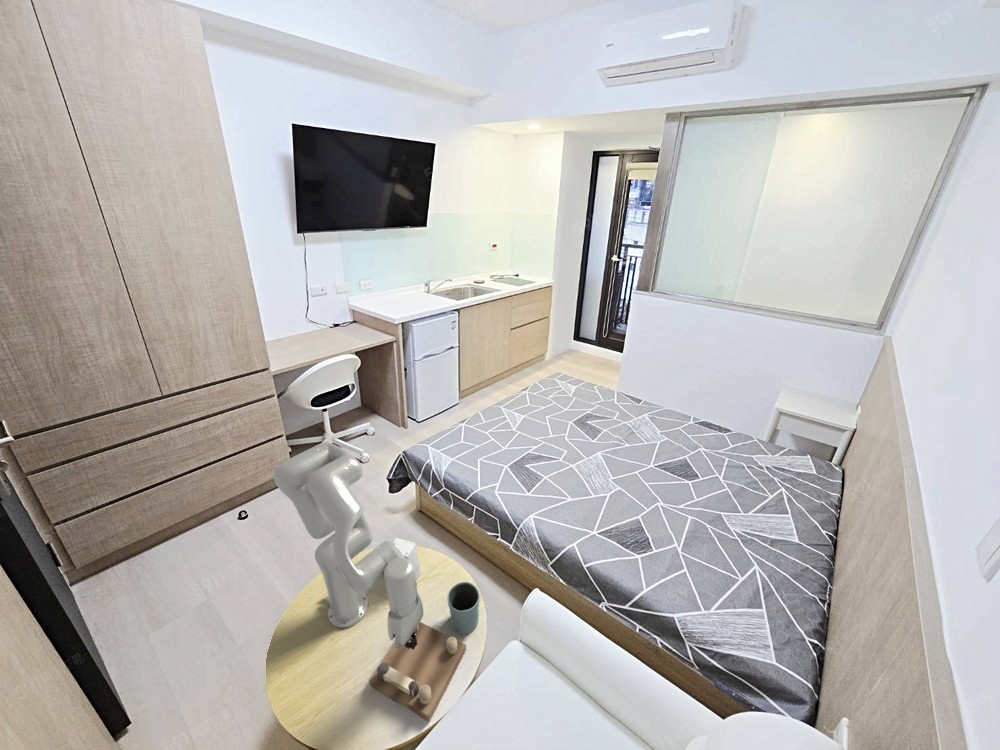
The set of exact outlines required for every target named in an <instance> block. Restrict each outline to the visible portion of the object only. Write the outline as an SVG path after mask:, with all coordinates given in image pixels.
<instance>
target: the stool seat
mask: <svg viewBox="0 0 1000 750" xmlns="http://www.w3.org/2000/svg"><path fill="white" fill-rule="evenodd" d="M416 639H417V645H416V646H415V649H414V650H413V649H411V648H410V649H408V648H406V647H405V644H404V645H402V646H401V647H400V649H397V648H395V641H394V642H393V644H392V645H391V647H390V648H389V650H388V651H387V653H386V655H385V656H384V657H383V659H382V660H381V662H379V664H378V666H379V665H380V664H381V663H387V664H388V665H389V666H390V667H391V668H393V669H395V670H397V671H398V672H400V673H402V674H404V675H406V676H407V677H409V678H411V679H413V680H414V681H417V682H418V684H419V692H418V694H417V695H416V696H414V697H412V696H410V695H409V694H407V693H405V692H404V691H402V690H400V689H398V688H397V687H395V686H393V685H391V684H390V683H388V682H386V681H385V680H380V679H379V677H378V672H377V668H378V666H377V668H376V669H375V670H374V672H373V674H372V675H371V676H370V678H369V679H368V684H369V687H370V688H372V689H373V690H375V691H377V692H379V693H381V694H382V695H383V696H385V697H387V698H389V699H390V700H393V701H394V702H395V703H397V704H398V705H400V706H402V707H404V708H405V709H407V710H408V711H411V712H412V713H414V714H415V715H416V716H419V717H420V718H422V719H424V720H425V721H427V722H429V723H430V722H431V720H432V718H433V716H434V715H435V712H436V710H437V709H438V706H439V704H440V702H441V701H442V699H443V697H444V694H445V693H446V691H447V689H448V687H449V685H450V683H451V681H452V679H453V677H454V675H455V674H456V671H457V670H458V667H459V666H460V664H461V662H462V660H463V658H462V657H464V656H463V655H465V654H466V652H467V644H466V643H463V642H462V641H460V640H458V639H457V638H456V637H454V636H449V635H448V634H445V633H443V632H441V631H439V630H438V629H435V628H433V627H431V626H429V625H427V624H426V623H423V622H421V621H420V623H419V624H418V626H417V633H416ZM465 651H466V652H465ZM461 659H462V660H461ZM460 661H461V662H460ZM459 663H460V664H459ZM458 665H459V666H458Z"/></svg>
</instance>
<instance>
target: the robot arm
mask: <svg viewBox="0 0 1000 750" xmlns="http://www.w3.org/2000/svg"><path fill="white" fill-rule="evenodd" d="M363 475H364V471H363V468H362V465H361V463H360V462H359V461H358V460H357V459H356V457H355V456H353V455H352V454H351V453H350V452H348V451H346V450H344V449H343V448H341V447H340V446H338V445H336V444H334V443H332V442H329V441H324V442H321V443H318V444H316V445H314V446H313V447H310V448H309V449H306V450H305V451H302V452H300V453H298V454H296V455H294V456H292V457H290V458H289V459H287V460H285V461H283V462H281V463H280V464H279V465H278V466H277V467H276V468H275V469H274V471H273V479H274V483H275V484H276V486H277V487H278V489H279V490H280V492H282V493H283V494H284V495H285V496H286V497H287V498H288V499H289V500H290V501H291V502H292V503H293V505H294V507H295V509H296V512H297V513H298V516H299V517H300V519H301V521H302V523H303V525H304V528H305V529H306V532H308V535H310V537H311V538H313V539H314V540H319V539H320V540H321V539H323V538H325V537H326V536H328V535H330V534H331V533H332V532H334V531H335V532H334V533H333V534H332V535H330V536H329V537H327V538H326V539H325V540H324V541H322V542H321V543H320V544H319V545H318V546H317V548H316V549H315V551H314V560H315V562H316V564H317V565H318V568H319V569H320V571H321V574H322V576H323V581H324V584H325V586H326V591H327V595H326V596H325V597H324V600H325V601H327V602H329V607H328V610H327V611H328V612H327V616H328V620H329V622H330V623H331V625H332V626H333V627H336V628H339V629H340V628H341V629H344V628H349V627H352V626H354V625H356V624H357V623H358V622H360V621H362V619H363V618H364V617H365V616H366V614H367V612H368V609H369V599H368V596H367V595H366V594H368V593H369V592H370V591H372V590H373V589H374V588H375V587H376V586H377V585H378V584H379V583H381V582H382V581H383V580H384V587H385V592H386V597H387V601H388V606H389V611H388V614H387V631H388V632H387V633H388V637H389V640H390V641H393V640H394V642H395V648H397V649H400V647H401V646H402V645H404V644H405V647H406V648H408V649H410V648H411V649H413V650H414V649H415V646H416V645H417V639H416V633H417V626H418V624H419V623H420V622H421V621H422V619H423V616H424V607H423V603H422V599H421V597H420V595H419V593H418V583H417V580H416V579H415V572H414V566H413V564H412V562H411V561H410V560H408V559H406V558H405V557H404V556H403V554H402V553H401V552H400V550H399V548H398V546H397V545H396V544H395V543H393V541H390V540H385V541H383V542H381V543H380V544H378V546H376V547H375V548H374V549H372V550H371V551H369V553H367V554H366V555H365V556H364V557H362V558H361V559H360V560H359V561H357V562H356V563H354V562H353V559H354V558H355V557H356V556H358V555H359V554H360V553H361V552H363V551H364V550H365V549H366V548H367V547H369V546H370V545H371V543H372V542H373V538H374V535H373V532H372V530H371V529H372V528H371V527H370V525H369V522H368V521H367V518H366V516H365V514H364V511H365V510H364V506H363V505H362V503H361V502H360V500H359V499H358V497H357V496H356V495H355V494H354V492H353V490H352V489H351V487H350V486H351V485H353V484H355V483H356V482H358V481H359V480H360V479H361V478H362V477H363Z"/></svg>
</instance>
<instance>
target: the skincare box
mask: <svg viewBox="0 0 1000 750" xmlns="http://www.w3.org/2000/svg"><path fill="white" fill-rule="evenodd" d="M392 543H395V544H396V545H397V546H398V548H399V550H400V552H401V553H402V554H403V556H404V557H405V558H406V559H408V560H410V561H411V562H412V564H413V566H414V572H415V579H416V581H417V580H418V578H419V576H420V575H421V568H420V562H419V556H418V555H419V554H418V549H417V543H416V542H413V541H408V540H406V539H402V538H399V537H395V539H394V540H393V541H392Z"/></svg>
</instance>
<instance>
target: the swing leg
mask: <svg viewBox="0 0 1000 750" xmlns="http://www.w3.org/2000/svg"><path fill="white" fill-rule="evenodd" d="M380 663H381V662H380ZM380 663H379V664H380ZM379 664H378V665H377V667H378V668H376V669H377V672H378V677H379V679H380V680H385V681H386V682H388V683H390V684H391V685H393V686H395V687H397V688H398V689H400V690H402V691H404V692H405V693H407V694H409V695H410V696H412V697H414V696H416V695H417V694H418V692H419V684H418V682H417V681H414V680H413V679H411V678H409V677H407V676H406V675H404V674H402V673H400V672H398V671H397V670H395V669H393V668H391V667H390V666H389V665H388V664H387V663H381V664H380V665H379Z"/></svg>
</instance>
